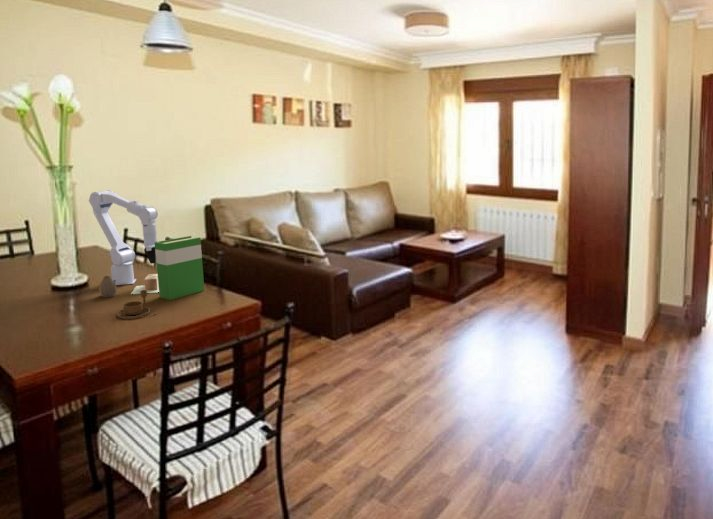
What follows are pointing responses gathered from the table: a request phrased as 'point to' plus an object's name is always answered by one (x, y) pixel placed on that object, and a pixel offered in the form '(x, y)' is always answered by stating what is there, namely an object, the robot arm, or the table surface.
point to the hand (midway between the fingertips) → (152, 263)
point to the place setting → (134, 308)
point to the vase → (107, 287)
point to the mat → (140, 288)
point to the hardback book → (179, 267)
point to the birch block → (151, 282)
